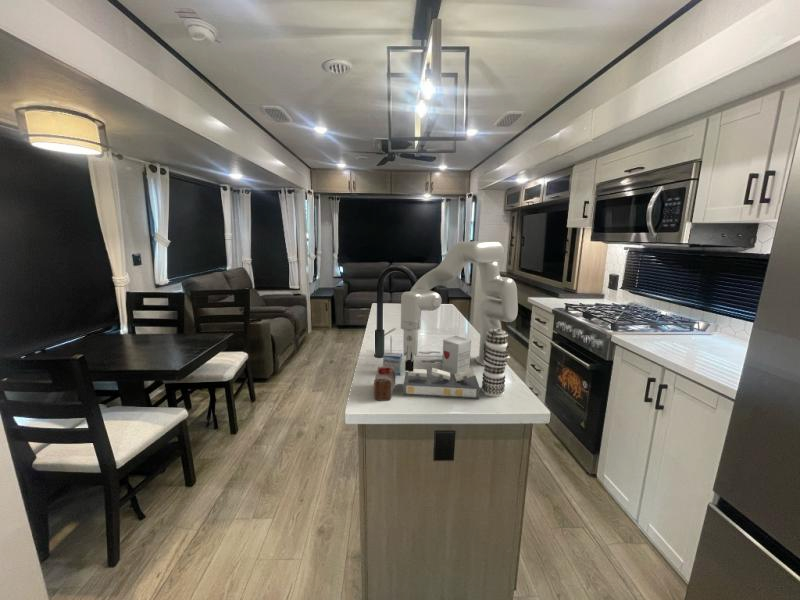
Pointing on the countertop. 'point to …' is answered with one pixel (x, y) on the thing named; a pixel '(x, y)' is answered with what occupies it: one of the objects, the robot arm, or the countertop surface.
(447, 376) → the rocker
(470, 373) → the rocker
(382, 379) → the food item
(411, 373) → the rocker
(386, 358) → the medicine box
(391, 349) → the countertop surface
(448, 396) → the switch unit
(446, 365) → the supplement box
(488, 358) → the decorative candle
